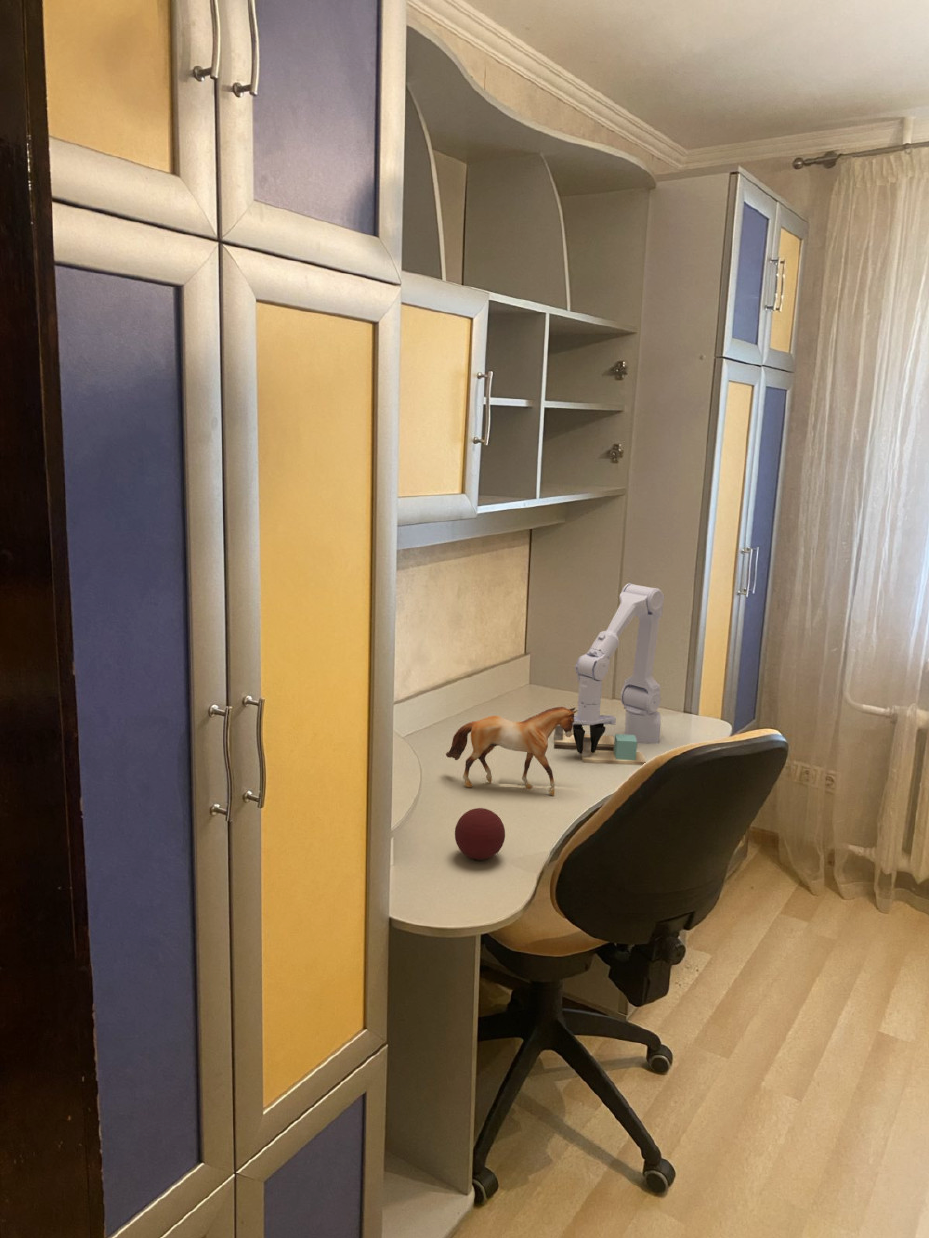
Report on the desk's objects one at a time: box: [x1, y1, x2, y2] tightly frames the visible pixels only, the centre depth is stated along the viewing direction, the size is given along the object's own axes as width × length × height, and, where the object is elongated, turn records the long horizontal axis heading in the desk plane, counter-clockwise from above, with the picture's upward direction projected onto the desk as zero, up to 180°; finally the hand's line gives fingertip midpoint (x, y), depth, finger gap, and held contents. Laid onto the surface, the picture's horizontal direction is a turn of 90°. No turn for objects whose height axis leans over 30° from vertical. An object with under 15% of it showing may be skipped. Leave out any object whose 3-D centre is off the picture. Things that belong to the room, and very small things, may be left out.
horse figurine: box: [445, 706, 578, 796], centre depth 216 cm, size 31×8×21 cm, turn 78°
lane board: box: [553, 742, 614, 751], centre depth 243 cm, size 17×22×2 cm
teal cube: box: [614, 733, 638, 760], centre depth 236 cm, size 5×5×5 cm
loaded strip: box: [580, 737, 647, 766], centre depth 237 cm, size 16×7×5 cm, turn 88°
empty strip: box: [553, 725, 615, 746], centre depth 248 cm, size 16×7×5 cm, turn 88°
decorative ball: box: [454, 807, 506, 861], centre depth 182 cm, size 10×10×10 cm
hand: (585, 751), depth 237 cm, fingers closed on loaded strip, 3 cm apart
